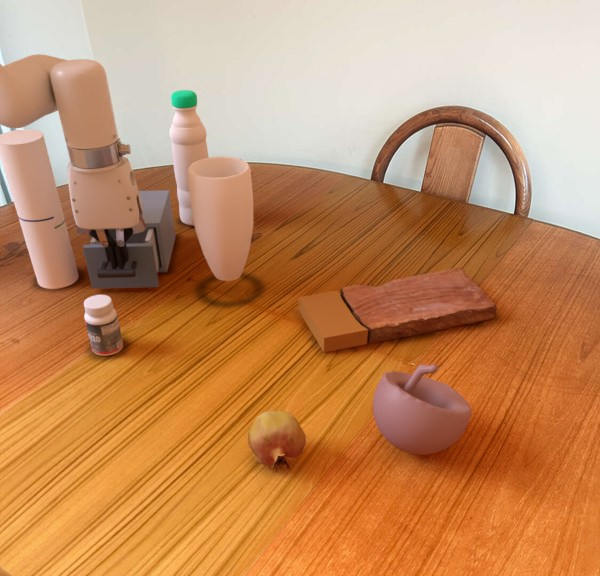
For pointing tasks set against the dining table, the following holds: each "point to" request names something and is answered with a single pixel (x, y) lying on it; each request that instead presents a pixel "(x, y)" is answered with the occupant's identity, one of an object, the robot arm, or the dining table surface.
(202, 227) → the cup
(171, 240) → the cabinet
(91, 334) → the pill bottle
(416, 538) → the dining table surface
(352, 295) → the brown flat slab
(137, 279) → the drawer
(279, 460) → the fruit
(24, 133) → the cylindrical container
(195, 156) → the water bottle
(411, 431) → the mortar and pestle
